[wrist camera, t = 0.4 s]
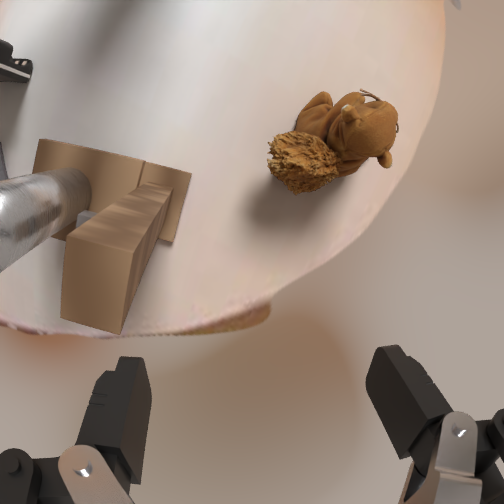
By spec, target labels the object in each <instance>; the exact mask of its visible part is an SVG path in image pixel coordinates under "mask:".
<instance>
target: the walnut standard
mask: <svg viewBox="0 0 504 504" xmlns="http://www.w3.org/2000/svg"><path fill="white" fill-rule="evenodd" d="M67 167H71V168H76V169H78V170H80V171H81V172H83V173H84V174H85V175H86V177H87V178H88V180H89V182H90V185H91V189H92V199H91V203H90V206H89V208H88V210H85V211H83V212H81V213H79V214H78V217H77V220H75V221H73V222H72V223H70V224H69V225H67V226H66V227H64V228H63V229H61V230H60V231H58V232H57V233H55V234H54V235H52V236H51V237H53V238H56V239H60V240H63V241H66V247H65V256H64V266H63V278H62V293H61V318H63V319H66V320H69V321H72V322H76V323H79V324H82V325H86V326H89V327H93V328H96V329H100V330H103V331H107V332H111V333H114V334H118V335H120V333H121V331H122V328H123V325H124V322H125V319H126V317H127V314H128V311H129V308H130V306H131V303H132V300H133V298H134V295H135V292H136V290H137V287H138V285H139V282H140V280H141V277H142V274H143V272H144V269H145V267H146V265H147V262H148V260H149V257H150V255H151V252H152V250H153V248H154V245H155V243H156V241H157V238H159V239H162V240H166V241H170V242H173V240H174V236H175V232H176V228H177V224H178V221H179V217H180V213H181V209H182V206H183V202H184V199H185V195H186V191H187V188H188V184H189V181H190V178H191V174H192V173H188V172H184V171H181V170H177V169H173V168H169V167H165V166H161V165H157V164H153V163H149V162H146V161H144V160H140V159H136V158H132V157H128V156H123V155H119V154H115V153H110V152H106V151H101V150H97V149H92V148H88V147H83V146H78V145H73V144H69V143H64V142H59V141H54V140H48V139H39V143H38V147H37V152H36V157H35V162H34V167H33V172H32V174H34V173H40V172H45V171H50V170H55V169H61V168H67Z"/></svg>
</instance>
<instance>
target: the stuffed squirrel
mask: <svg viewBox="0 0 504 504" xmlns="http://www.w3.org/2000/svg"><path fill="white" fill-rule="evenodd" d="M360 91H362V92H365V93H369V92H367V91H364V90H362V89H360ZM370 94H371V93H369V94H364V93H359V92H352V93H349V94H347V95H345V96H344V97H343V98H341V99H340V100H339V101H338V102H337V103H336V104H335V106H334V107H333V102H332V99H331V97H330V94H329V93H327V92H324V91H323V92H320V93H319V94H317V95H316V96H315V97H314V98H313V99H312V100H311V101H310V102H309V103H308V104H307V105H306V106H305V107H304V109H303V110H302V111H301V112H300V114H299V116H298V120H297V124H296V128H295V131H290V132H288V133H284V134H278V135H276V137H274V141H272V142H273V143H270V142H268V144H269V145H270V146H271V148H270V150H271V151H270V152H268V153H269V154H272V155H273V157H272V160H270V159H267V161H268V163H269V164H268V167H269V169H270V171H271V174H273V175H274V176H276V177H277V178H278V180H282V181H283V182H284V184H285V185H287V186H288V190H290V191H293V193H294V194H295V195H297V194H298V193H301V192H307V191H308V192H311V191H316V189H318V188H319V189H320V187H321V186H324V185H325V184H327V181H328V182H329V183H330V182H331V181H332V180H333V179H334V178H337V177H342V176H346V175H349V174H352V173H354V172H356V171H357V170H358V169H359V167H360V165H361V164H362V163H363V162H364V161H366V160H367V159H368V158H369V157H377V159H378V162H379V164H380V165H381V166H382V167H384V168H386V169H387V168H390V167H391V166H392V156H391V154H390V152H389V150H390V148H391V147H392V145H393V143H394V141H395V137H396V133H398V130H399V126H398V124H397V121H398V114H397V111H396V110H395V108H394V107H393V106H392V105H391V104H389V103H388V102H386V101H382V100H380V99H379V98H378V97H376V96H375V95H373V94H371V95H370ZM364 96H370V97H373V98H374V99H376V101H372V102H368V103H364V102H365V97H364ZM396 125H397V131H396ZM331 179H332V180H331Z"/></svg>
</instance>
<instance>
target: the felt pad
mask: <svg viewBox="0 0 504 504" xmlns="http://www.w3.org/2000/svg"><path fill="white" fill-rule="evenodd" d="M7 179H8V177H7V172H6V168H5V163H4V158H3V153H2V148H1V142H0V181H2V180H7Z"/></svg>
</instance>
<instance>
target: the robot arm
mask: <svg viewBox="0 0 504 504" xmlns="http://www.w3.org/2000/svg"><path fill="white" fill-rule="evenodd" d="M366 390H367V393H368V395H369V397H370V399H371V401H372V403H373V405H374V407H375V409H376V411H377V413H378V415H379V417H380V419H381V421H382V423H383V426H384V427H385V430H386V432H387V434H388V436H389V438H390V440H391V442H392V444H393V446H394V448H395V450H396V452H397V454H398V457H399V459H403V458H407V457H410V456H411V457H412V458H413V461H412V463H411V465H410V468H409V472H408V475H407V478H406V482H405V485H404V488H403V491H402V494H401V497H400V500H399V503H398V504H504V479H503V477H502V475H501V473H500V471H499V469H498V468H497V466H496V464H495V461H496V460H497V459H498V458H499V457H501V459H502V461H503V462H504V409H501V410H499V411H497V413H496V414H495V415H494V417H493V418H492V419H491V420H481V421H475V420H474V419H473V418H472V417H471V416H470V415H468V414H466V413H463V412H459V411H456V412H454V411H453V410H452V408H451V407H450V405H449V404H448V402H447V401H446V399H445V398H444V396H443V395H442V393H441V392H440V391H439V389H438V388H437V386H436V385H435V383H433V381H432V379H431V378H430V377H429V376H428V375H427V372H426V371H425V370H424V368H423V367H422V365H421V364H420V363H419V362H417V361H416V360H415V359H413V358H412V357H411V356H406V354H405V353H404V352H403V350H402V349H401V347H400V346H399V345H391V346H383V347H378V348H377V349H376V351H375V353H374V356H373V359H372V362H371V365H370V368H369V371H368V374H367V377H366ZM151 402H152V395H151V388H150V383H149V379H148V376H147V371H146V368H145V363H144V359H143V358H141V357H124V356H123V357H122V356H121V357H120V358H119V360H118V364H117V367H116V370H115V371H105V372H104V373H103V374H102V375H101V376H100V378H99V379H98V380H97V381H96V384H95V386H94V389H93V392H92V396H91V398H90V401H89V405H88V407H87V410H86V413H85V416H84V419H83V422H82V426H81V428H80V432H79V435H78V438H77V441H76V443H75V445H74V446H72V447H70V448H68V449H66V450H65V451H64V452H63V453H62V455H61V456H59V457H55V458H40V459H32V458H31V457H30V456H29V455H28V454H27V453H26V452H25V451H23V450H20V449H15V448H12V449H8V450H5V451H4V452H2V453H1V454H0V504H135V503H134V502H133V500H132V499H131V497H130V496H129V491H130V483H132V484H141V475H142V467H143V459H144V451H145V443H146V437H147V430H148V423H149V416H150V410H151Z"/></svg>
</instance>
